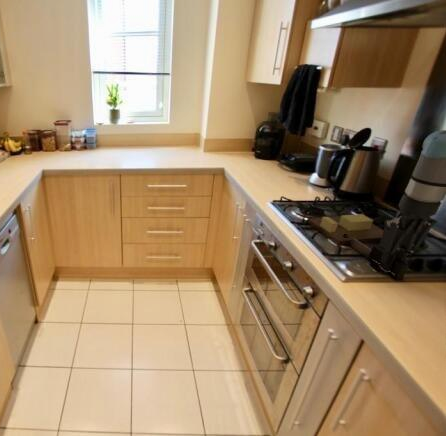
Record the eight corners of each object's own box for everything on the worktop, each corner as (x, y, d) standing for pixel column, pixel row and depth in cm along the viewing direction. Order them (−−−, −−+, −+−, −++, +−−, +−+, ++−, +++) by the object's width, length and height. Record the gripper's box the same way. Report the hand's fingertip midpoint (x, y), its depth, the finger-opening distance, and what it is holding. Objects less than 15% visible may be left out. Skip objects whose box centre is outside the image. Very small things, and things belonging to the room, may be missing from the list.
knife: (401, 279, 88) (409, 265, 86) (396, 280, 88) (403, 265, 86) (352, 245, 104) (357, 232, 102) (347, 245, 104) (352, 232, 102)
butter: (369, 229, 110) (373, 220, 109) (348, 230, 109) (352, 222, 108) (358, 222, 115) (362, 213, 113) (338, 224, 114) (341, 215, 112)
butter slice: (335, 232, 109) (338, 223, 107) (329, 232, 109) (332, 223, 107) (325, 225, 113) (327, 216, 112) (319, 225, 113) (322, 216, 112)
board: (392, 240, 106) (394, 236, 106) (337, 244, 105) (338, 241, 104) (355, 218, 120) (357, 214, 120) (306, 222, 119) (307, 218, 118)
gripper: (434, 189, 85) (399, 261, 96) (382, 192, 83) (352, 265, 94) (464, 201, 78) (422, 276, 89) (409, 205, 77) (373, 281, 88)
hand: (386, 270), depth 92 cm, fingers open, 2 cm apart
